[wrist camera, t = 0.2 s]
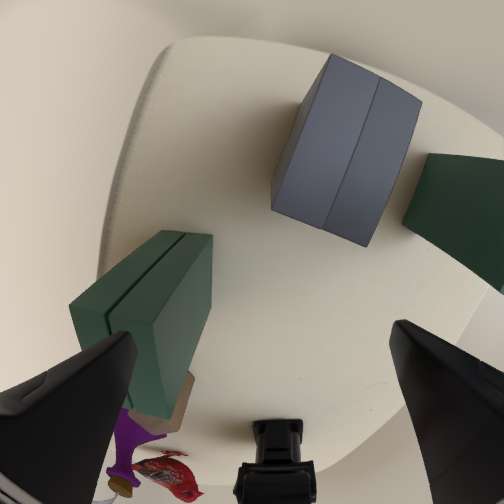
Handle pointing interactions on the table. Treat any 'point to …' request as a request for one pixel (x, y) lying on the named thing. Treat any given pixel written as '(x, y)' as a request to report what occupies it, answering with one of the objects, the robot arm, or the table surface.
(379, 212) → the charcoal book
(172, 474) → the decorative bird figurine
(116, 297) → the green book
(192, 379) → the wooden block
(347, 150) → the charcoal book
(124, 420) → the perfume bottle
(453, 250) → the green book
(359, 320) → the table surface
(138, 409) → the green book
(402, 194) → the table surface
